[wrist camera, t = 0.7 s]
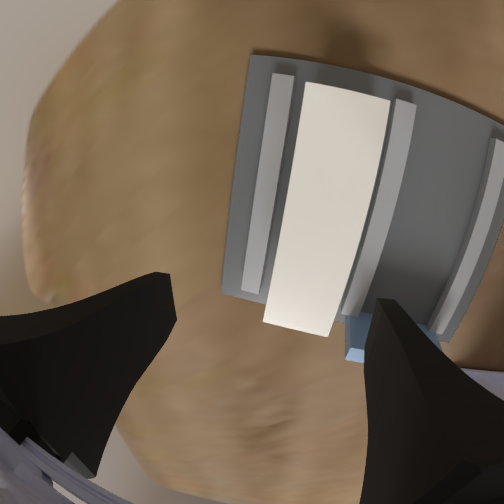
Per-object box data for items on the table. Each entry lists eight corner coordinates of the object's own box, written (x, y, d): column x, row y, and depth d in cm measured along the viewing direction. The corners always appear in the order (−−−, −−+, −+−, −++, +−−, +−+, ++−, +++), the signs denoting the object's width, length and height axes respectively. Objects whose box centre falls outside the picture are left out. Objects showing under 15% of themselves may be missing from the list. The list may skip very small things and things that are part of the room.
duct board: (519, 136, 12) (558, 142, 8) (447, 339, 19) (461, 379, 15) (252, 56, 15) (228, 36, 11) (222, 289, 22) (199, 325, 18)
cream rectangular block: (374, 108, 14) (390, 100, 10) (330, 294, 19) (327, 337, 15) (311, 94, 15) (305, 81, 11) (277, 281, 20) (263, 321, 16)
